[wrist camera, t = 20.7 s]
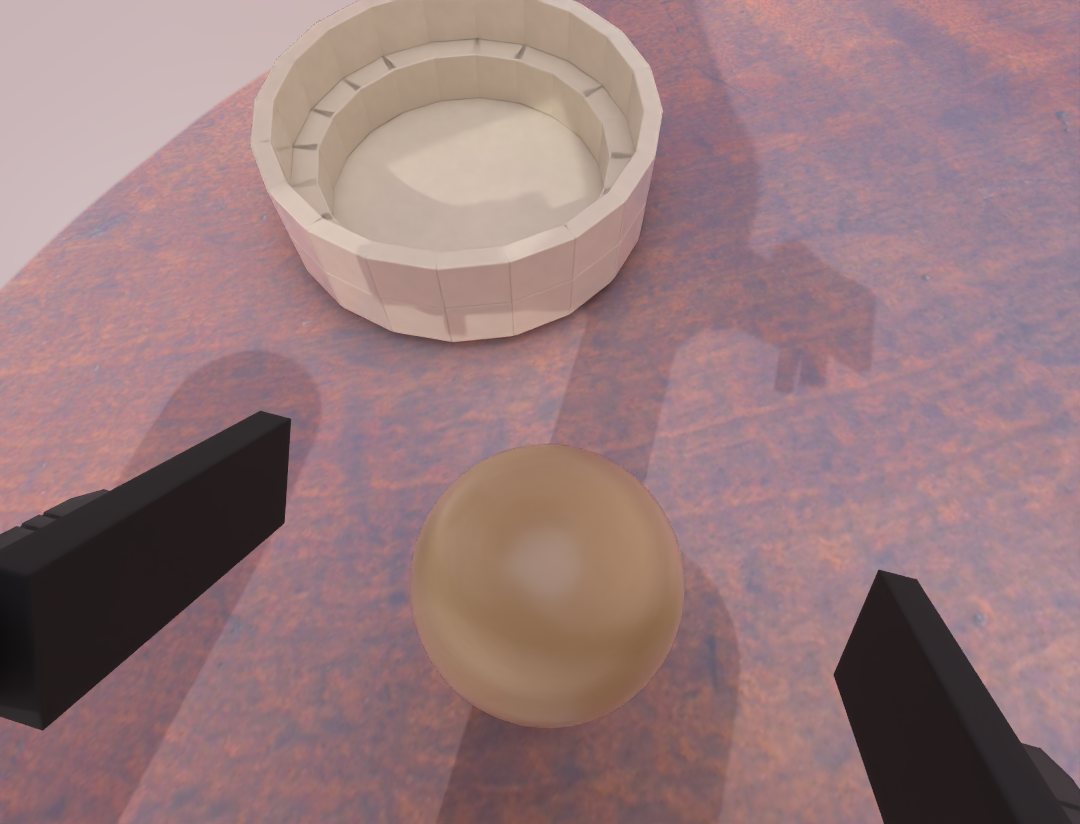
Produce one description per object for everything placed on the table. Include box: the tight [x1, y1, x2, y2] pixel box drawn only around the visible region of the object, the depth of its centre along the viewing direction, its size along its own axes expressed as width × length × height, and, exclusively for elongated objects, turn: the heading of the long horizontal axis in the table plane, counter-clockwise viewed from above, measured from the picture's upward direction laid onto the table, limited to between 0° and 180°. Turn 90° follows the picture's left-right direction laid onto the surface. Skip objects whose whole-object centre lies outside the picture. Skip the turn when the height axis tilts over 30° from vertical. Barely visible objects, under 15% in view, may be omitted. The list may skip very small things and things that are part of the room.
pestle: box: [410, 444, 685, 728], centre depth 16 cm, size 5×5×15 cm
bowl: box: [250, 0, 663, 342], centre depth 30 cm, size 17×17×6 cm
